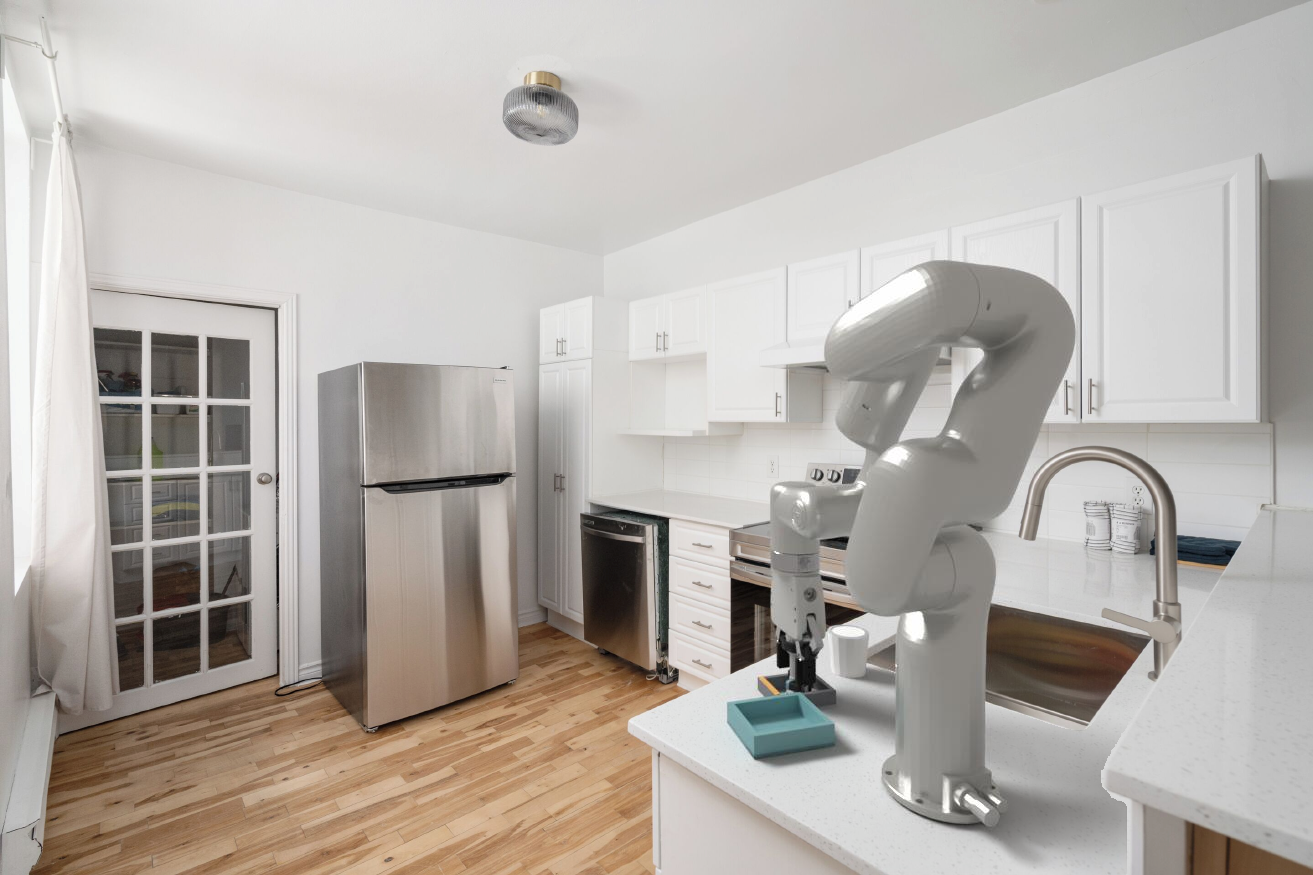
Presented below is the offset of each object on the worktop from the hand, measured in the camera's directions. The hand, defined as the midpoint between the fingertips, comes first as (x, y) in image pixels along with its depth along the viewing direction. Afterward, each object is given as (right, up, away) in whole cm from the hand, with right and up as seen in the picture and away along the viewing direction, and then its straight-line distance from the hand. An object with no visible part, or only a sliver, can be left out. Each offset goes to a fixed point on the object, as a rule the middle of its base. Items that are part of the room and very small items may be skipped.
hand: (795, 673), depth 95 cm
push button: (0, -4, 0) cm, 4 cm away
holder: (0, -4, 0) cm, 4 cm away
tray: (-5, -4, -11) cm, 13 cm away
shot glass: (+11, -3, +9) cm, 15 cm away
